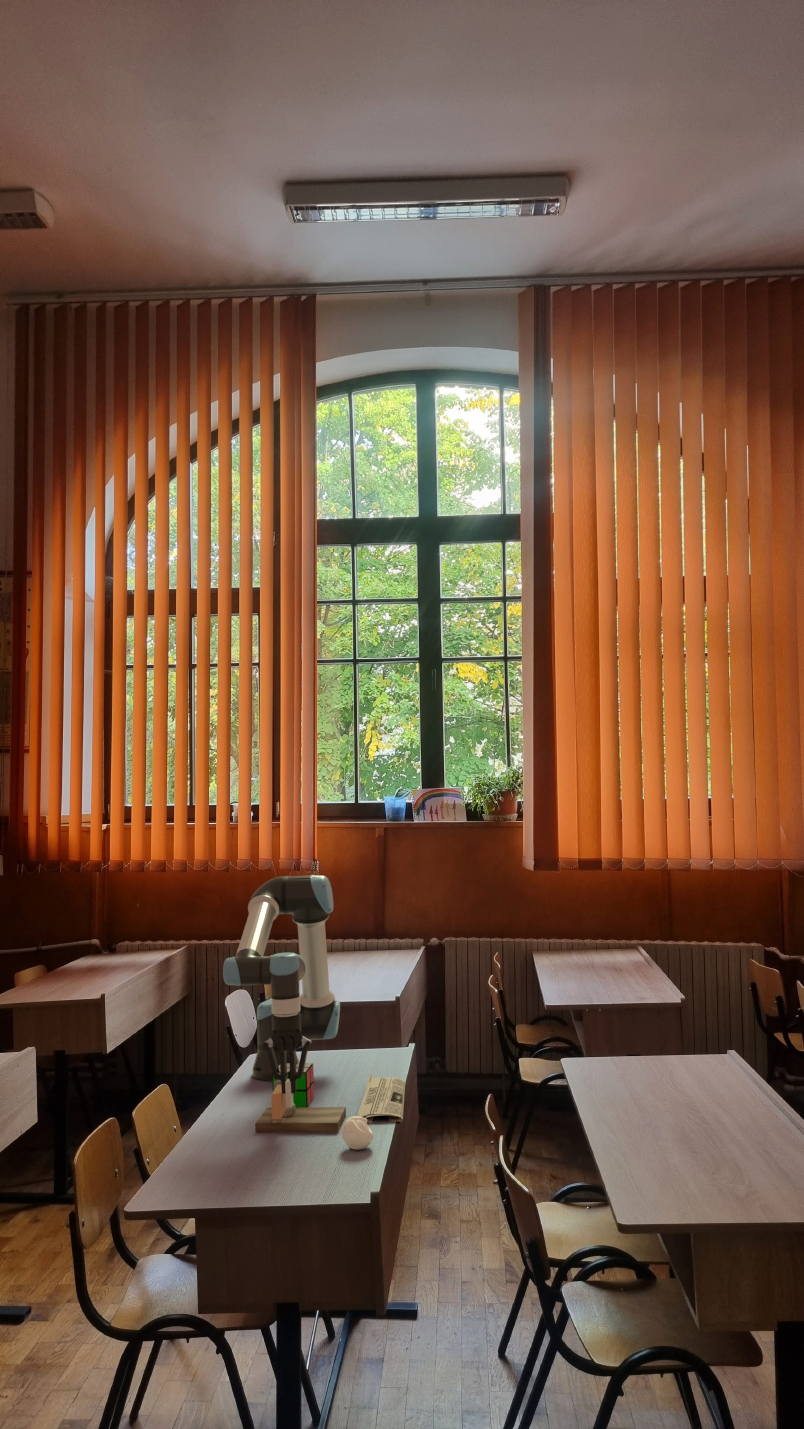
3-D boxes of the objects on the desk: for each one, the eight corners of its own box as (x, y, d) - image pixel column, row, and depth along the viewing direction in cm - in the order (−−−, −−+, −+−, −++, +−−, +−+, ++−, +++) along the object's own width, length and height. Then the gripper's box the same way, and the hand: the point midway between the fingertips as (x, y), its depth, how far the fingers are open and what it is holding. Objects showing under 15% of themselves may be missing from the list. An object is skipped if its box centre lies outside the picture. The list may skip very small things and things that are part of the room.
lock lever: (294, 1101, 264) (293, 1078, 264) (286, 1118, 249) (285, 1094, 250) (276, 1102, 264) (275, 1079, 264) (266, 1119, 249) (266, 1095, 250)
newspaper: (402, 1124, 258) (402, 1110, 258) (356, 1125, 258) (355, 1111, 258) (405, 1085, 293) (405, 1073, 293) (364, 1086, 293) (364, 1074, 293)
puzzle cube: (314, 1098, 282) (313, 1062, 283) (307, 1108, 272) (306, 1072, 273) (280, 1098, 283) (279, 1063, 284) (272, 1109, 273) (271, 1072, 274)
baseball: (375, 1153, 236) (374, 1120, 236) (344, 1156, 234) (343, 1123, 235) (371, 1142, 243) (370, 1110, 244) (341, 1144, 242) (340, 1113, 243)
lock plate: (267, 1116, 266) (266, 1100, 267) (345, 1116, 264) (345, 1099, 265) (255, 1132, 254) (254, 1115, 254) (338, 1132, 251) (337, 1114, 252)
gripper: (312, 1009, 258) (316, 1101, 256) (265, 1011, 259) (268, 1102, 257) (307, 1016, 250) (311, 1110, 248) (258, 1017, 251) (262, 1111, 249)
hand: (289, 1106), depth 252 cm, fingers closed
